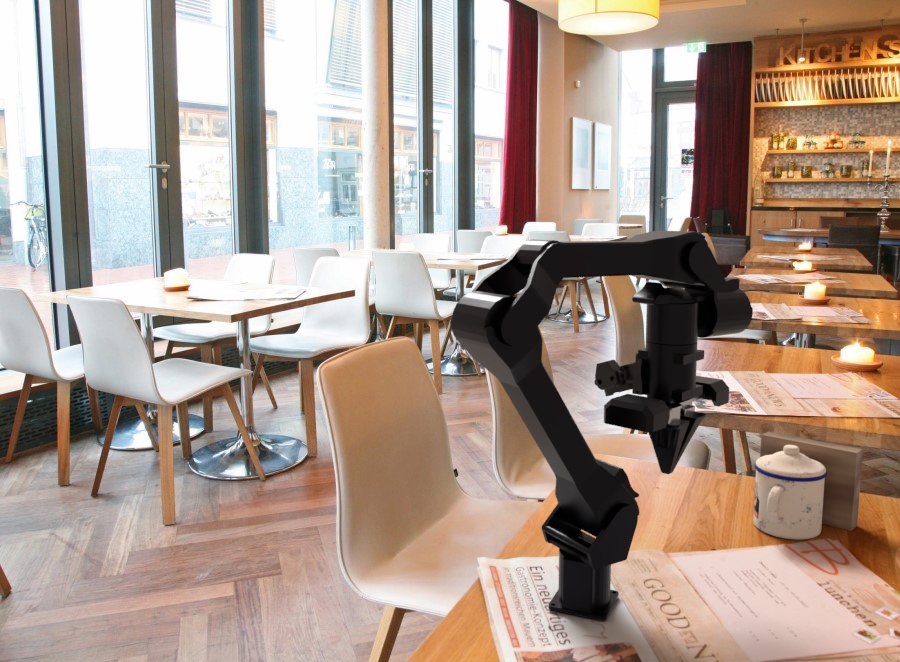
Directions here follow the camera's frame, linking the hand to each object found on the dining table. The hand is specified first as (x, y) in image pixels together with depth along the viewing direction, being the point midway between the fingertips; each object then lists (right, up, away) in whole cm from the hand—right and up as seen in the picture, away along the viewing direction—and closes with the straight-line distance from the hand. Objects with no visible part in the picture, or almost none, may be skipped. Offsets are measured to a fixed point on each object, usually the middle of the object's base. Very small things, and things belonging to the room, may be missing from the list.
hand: (666, 472), depth 93 cm
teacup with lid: (+20, -11, +15) cm, 28 cm away
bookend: (+25, -10, +21) cm, 34 cm away
